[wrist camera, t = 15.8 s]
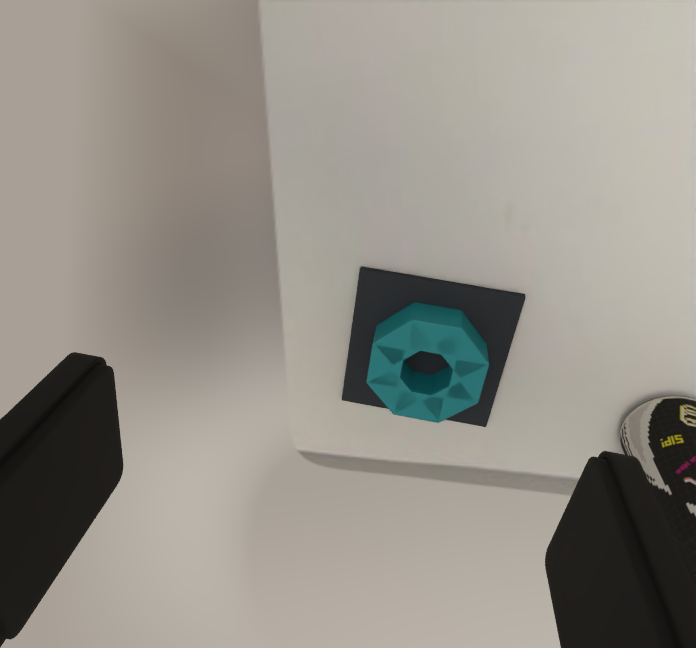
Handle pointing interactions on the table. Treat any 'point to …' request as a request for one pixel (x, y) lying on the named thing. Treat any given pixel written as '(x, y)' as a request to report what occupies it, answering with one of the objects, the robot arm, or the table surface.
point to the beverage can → (668, 460)
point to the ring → (435, 337)
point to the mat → (391, 297)
